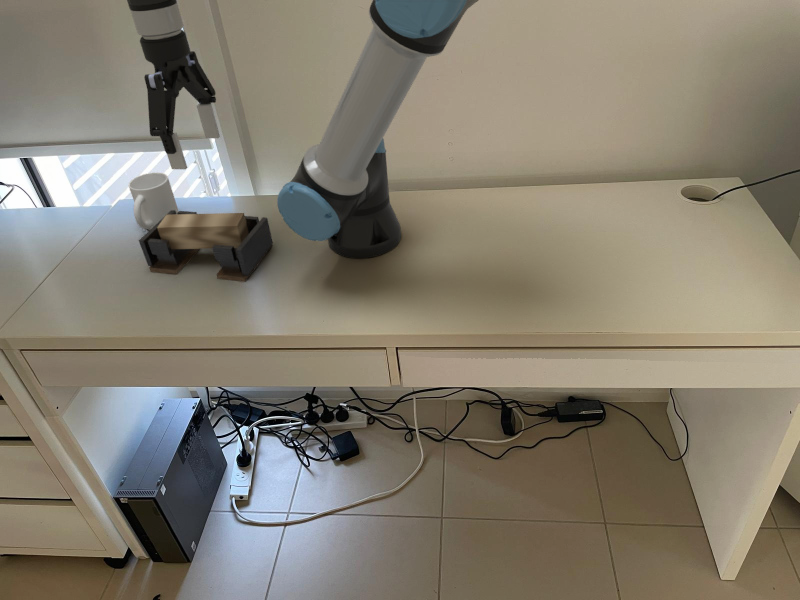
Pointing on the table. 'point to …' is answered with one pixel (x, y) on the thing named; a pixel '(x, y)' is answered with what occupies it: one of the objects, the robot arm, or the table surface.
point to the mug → (152, 198)
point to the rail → (203, 230)
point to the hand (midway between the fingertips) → (197, 152)
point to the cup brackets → (231, 259)
